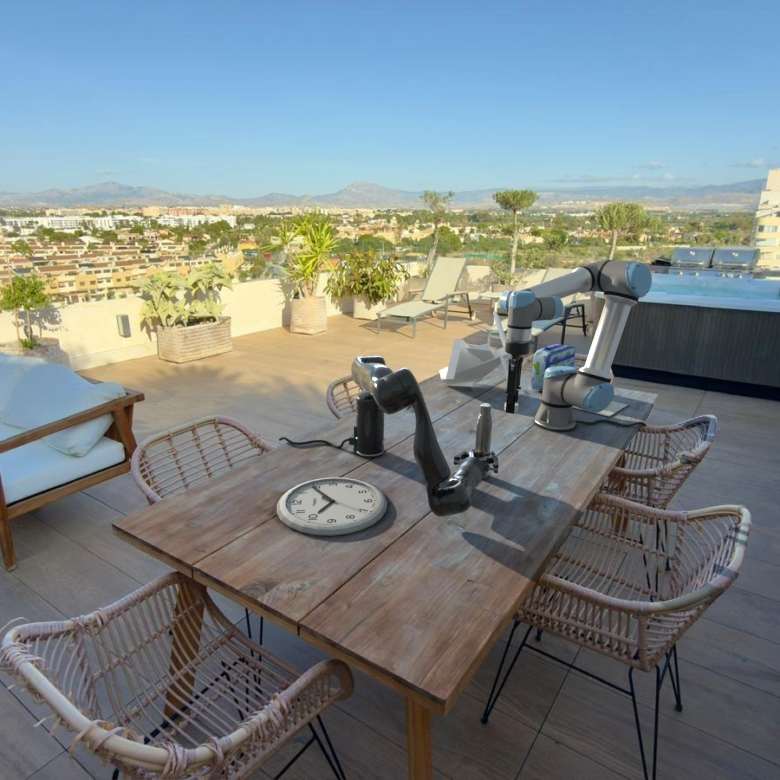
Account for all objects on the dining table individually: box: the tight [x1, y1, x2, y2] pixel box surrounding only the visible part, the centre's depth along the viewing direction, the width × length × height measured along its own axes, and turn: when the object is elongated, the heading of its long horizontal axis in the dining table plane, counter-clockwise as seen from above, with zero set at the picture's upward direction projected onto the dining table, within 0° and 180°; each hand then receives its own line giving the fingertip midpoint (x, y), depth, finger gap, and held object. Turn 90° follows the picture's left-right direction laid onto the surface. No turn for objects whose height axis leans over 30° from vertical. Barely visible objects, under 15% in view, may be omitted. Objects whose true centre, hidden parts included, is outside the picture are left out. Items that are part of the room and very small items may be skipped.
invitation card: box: [573, 400, 629, 418], centre depth 226 cm, size 21×1×15 cm
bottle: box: [474, 402, 493, 480], centre depth 158 cm, size 4×4×23 cm
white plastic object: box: [438, 310, 531, 397], centre depth 245 cm, size 37×45×31 cm
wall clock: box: [276, 476, 388, 537], centre depth 142 cm, size 30×2×30 cm
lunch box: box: [530, 343, 576, 392], centre depth 248 cm, size 26×11×21 cm, turn 134°
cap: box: [503, 402, 519, 413], centre depth 171 cm, size 4×4×2 cm
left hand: (484, 452), depth 162 cm, fingers closed on bottle, 4 cm apart
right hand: (511, 410), depth 172 cm, fingers closed on cap, 4 cm apart
